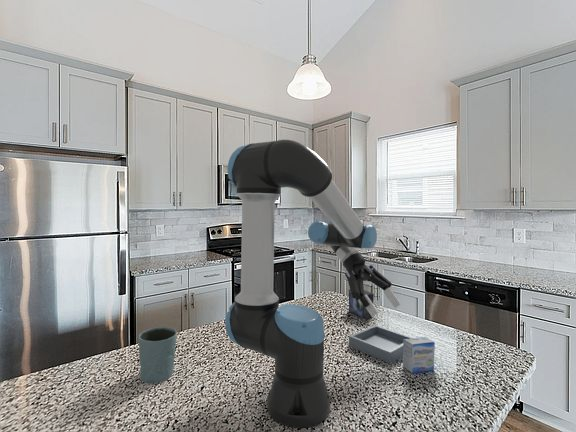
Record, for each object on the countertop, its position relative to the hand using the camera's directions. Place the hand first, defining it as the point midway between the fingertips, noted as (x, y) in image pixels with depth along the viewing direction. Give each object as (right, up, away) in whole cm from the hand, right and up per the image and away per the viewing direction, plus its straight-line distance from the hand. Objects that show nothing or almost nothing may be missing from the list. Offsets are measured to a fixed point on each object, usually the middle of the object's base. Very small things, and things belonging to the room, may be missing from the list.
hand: (387, 310), depth 103 cm
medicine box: (+7, -15, -8) cm, 19 cm away
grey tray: (0, -15, +6) cm, 16 cm away
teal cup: (-69, -15, -13) cm, 72 cm away
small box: (0, -14, +39) cm, 42 cm away
